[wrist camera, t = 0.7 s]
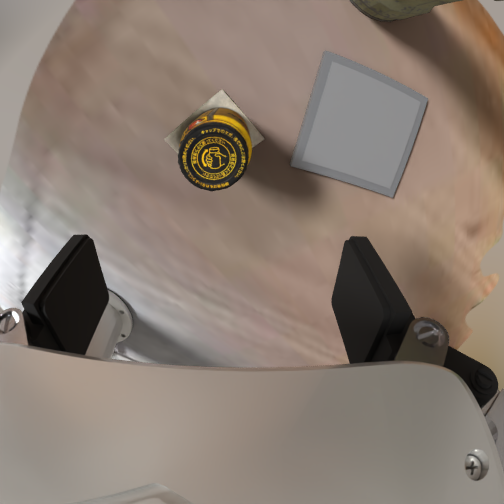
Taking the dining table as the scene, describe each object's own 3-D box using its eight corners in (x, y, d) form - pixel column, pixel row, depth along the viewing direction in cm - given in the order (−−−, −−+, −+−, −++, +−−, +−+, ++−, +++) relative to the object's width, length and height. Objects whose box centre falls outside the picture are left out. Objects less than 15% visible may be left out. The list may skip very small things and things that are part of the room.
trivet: (389, 195, 35) (393, 198, 34) (289, 164, 33) (291, 166, 32) (424, 97, 28) (428, 98, 28) (323, 51, 26) (326, 50, 25)
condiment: (264, 138, 31) (278, 165, 21) (206, 184, 34) (193, 232, 24) (222, 89, 28) (213, 89, 18) (164, 139, 31) (129, 167, 20)
